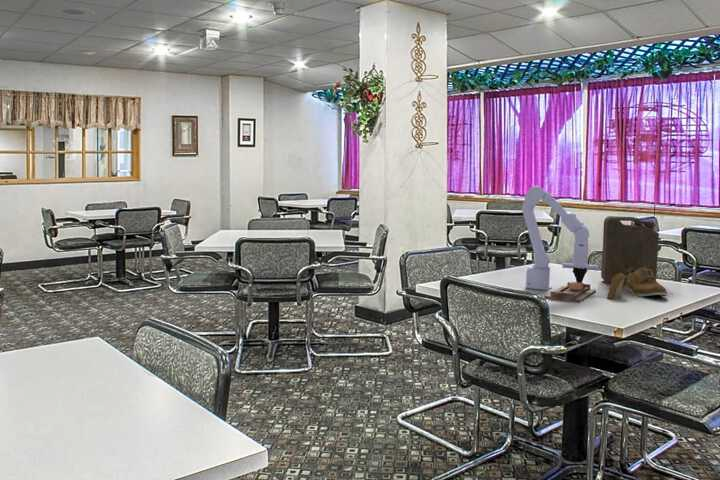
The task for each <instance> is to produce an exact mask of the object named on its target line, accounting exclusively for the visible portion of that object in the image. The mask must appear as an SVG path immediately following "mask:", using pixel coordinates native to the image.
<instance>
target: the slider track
mask: <svg viewBox="0 0 720 480" xmlns="http://www.w3.org/2000/svg"><path fill="white" fill-rule="evenodd" d="M570 282H571V281H567V285H562V286H560V287H558V288H557V289H554V290H553V291H552V290H551V291H550V292H549V293H547V294H545V295H544V297H545V298H544V299H546V298H547V299H548V300H556V301H557V300H558V301H563V300H564V301H563V302H565V301H566V302H572V301H575V303H582V302H584V299H585V300H586V299H588V298H590V296H592V295H594V294H595V293H596V291H597V289H594V288H591V284H590V283H584V285H583V289H582V290H573V289H569V283H570ZM581 301H582V302H581Z"/></svg>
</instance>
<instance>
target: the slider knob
mask: <svg viewBox="0 0 720 480" xmlns="http://www.w3.org/2000/svg"><path fill="white" fill-rule="evenodd" d="M569 282H570V283H569V289H573V290H582V289H583V285H584V284H585V283H584V282H582V283H579V282H577V281H569Z"/></svg>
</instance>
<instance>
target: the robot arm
mask: <svg viewBox="0 0 720 480" xmlns="http://www.w3.org/2000/svg"><path fill="white" fill-rule="evenodd" d="M524 197H525V198H524V199H523V203H522V205H521V212H522V214H523V218H524V223H525V225H526V228H527V232H528V236H529V239H530V243H531V247H532V250H533V253H534V256H533V262H534V265H532V266H528V267H527V269H526V273H525V274H526V275H525V276H526V277H525V289H533V290H542V291H543V290H544V291H547V290H551V289H552V288H553V286H552V285H550V278H551V277H550V275H551V266H550V255H549V253H547V251H546V250H545V247H544V244H543V240H542V236H541V233H540V230H539V226H538V223H537V219H536V216H535V211H534V209H535V207H536V206H537V204H538V203H539V202H540V201H541V203H544V204H547V205H549V207H550V208H552V209H553V211H554V212H556V214H558V216H559V217H560V222H561V223H562V224H563V225H564V226H565V227H566V229H567V230H569V232H571V233H573V235H574V244H573V260H572V261H573V262H563V263H562V264H561V265H562V268H563V269H572V273H573V275H574V278H575V280H576V281H575V282H579V283H583V281H584V279H585V275H586V274H587V272H588V271H595V272H598V271H599V265H596V264H590V263H589V264H588V260H589V259H588V257H589V237H590V231H589V229H588V228H587V226H586V225H585V224H584V222H581V221H580V220H579V219H578V218H577V214H575V213H573V212H571V211H570V212H569V211H566V210H565V208H563V207H562V205H561V204H560V203H559V202H558V200H556V199H555V197H553V195H552V194H551V193H549V192H547V191H546V190H544V189H543V187H541V186H539V185H534V186H532V187H530V188H529V189H528V191H526V195H525V196H524Z"/></svg>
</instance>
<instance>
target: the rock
mask: <svg viewBox="0 0 720 480" xmlns="http://www.w3.org/2000/svg"><path fill="white" fill-rule="evenodd" d="M624 278H625V275H624V274H623V273H618V274H617V275H615V276H614V277H612V283H611V284H610V287H609V289H608V293H607V295H606V299H609V300H613V299H615V298H616V297H617V298H619V297H620V296H622V290H623V285H624V284H623V282H624Z"/></svg>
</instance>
